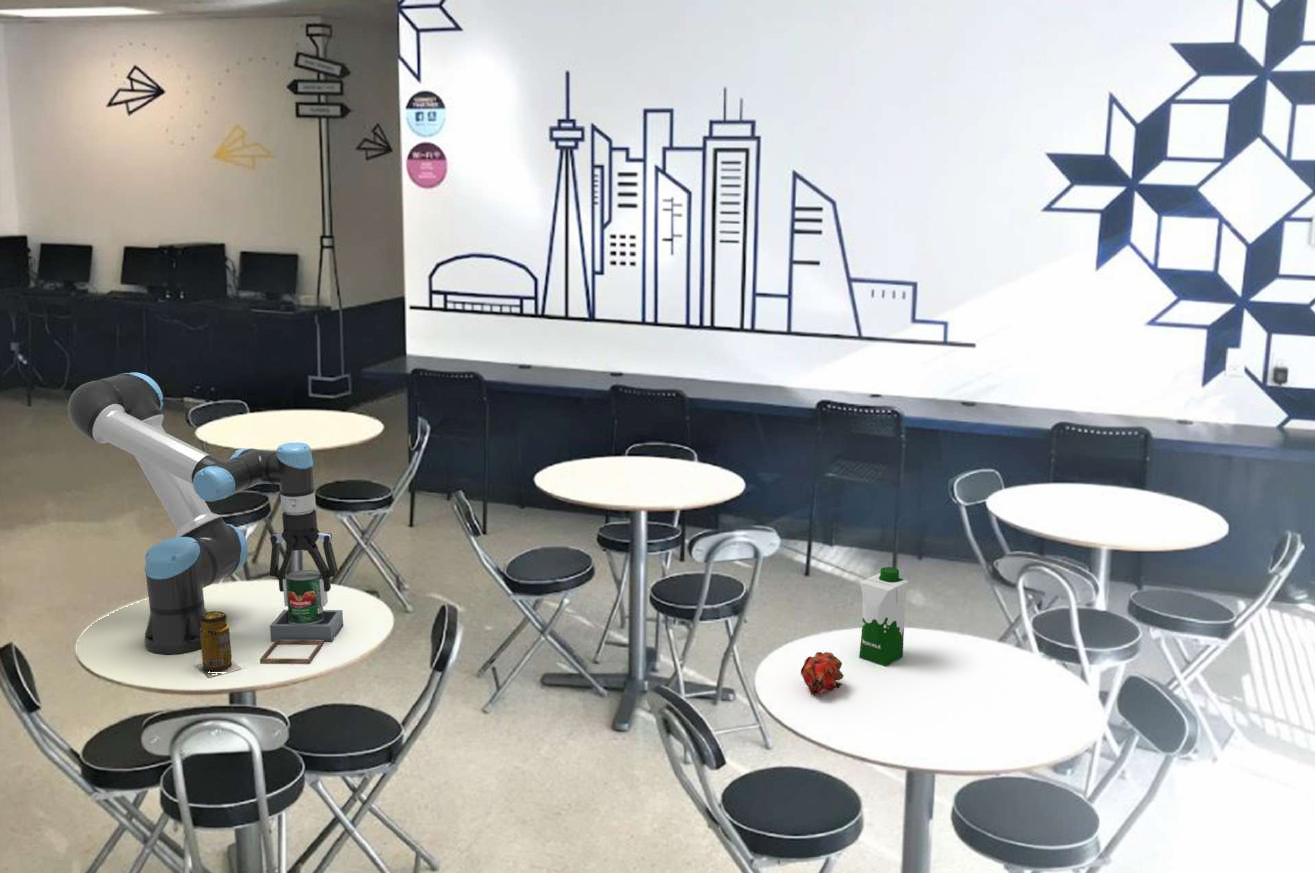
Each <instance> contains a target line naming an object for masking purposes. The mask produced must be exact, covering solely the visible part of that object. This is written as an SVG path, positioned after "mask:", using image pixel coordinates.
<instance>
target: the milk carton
mask: <svg viewBox="0 0 1315 873" xmlns="http://www.w3.org/2000/svg"><path fill="white" fill-rule="evenodd" d="M899 570H900V569H898V568H897V567H892V566H887V567H882V568H880V572H879V573H877V574H874V575H873V576H870V577H867V578H866V579H864V580H862V581H860V588H861V593H862V614H861V615H862V616H861V636H860V645H859V654H858V655H859V656H858V658H859V659H862V660H866V661H869V662H872V663H875V664H878V665H881V666H884V667H887V666H889V665H890V664H893V663H894V662H896V661H898V660H900V659H901V658H902V657H904V635H905V634H904V633H905V616H906V615H905V613H906V598H907V592H908V587H909V580H906V579H903V578H900V571H899Z"/></svg>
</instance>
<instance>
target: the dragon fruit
mask: <svg viewBox="0 0 1315 873" xmlns="http://www.w3.org/2000/svg"><path fill="white" fill-rule="evenodd" d="M842 665H843V662H842V661H841V660H840V659H838V657H837V656H835V655H834V654H833V653H832V652H829V651H826V652H821V651H820V652H819V651H817V652H816V653H815V654H814V656H808V657H807V658H806V659H805V660H804V663H803V665H802V667H801V670H800V676H802V679H803V681H804V683H805V685H806V686H807V687H808V689H809V692H810V693H811V694H812V695H813V696H816V694H818V695H819V694H826V693H827V691H828V692H833V691H834V690H836V689H837V690H838V689H840V688H841V686H842V685H843V682H840V681H841V680H843V679H844V677H845V676H844V674H843V672H842V671H841V668H842Z"/></svg>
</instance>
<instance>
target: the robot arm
mask: <svg viewBox="0 0 1315 873" xmlns="http://www.w3.org/2000/svg"><path fill="white" fill-rule="evenodd" d="M163 400H164V395H163V392H162V390H161V388H160V386H159V384H158V383H157V382H156V381H155V380H154V379H153V378H151V377H150V376H148V375H146V374H144V373H140V372H125V373H124V372H123V373H119V374H116V375H113V376H108V377H105V378H101V379H98V380H92V381H89V382H86V383H83V384H81V385H79V387H77V388H76V389H75V390H74V391H73V392H72V394H71V395H70V397H69V400H68V404H67V412H68V414H67V415H68V417H69V420H70V422H71V423H72V425H73V426H74V428H75V429H76V430H77V431H78V432H80V434H82V435H84V436H85V437H87V438H88V439H90V440H93V441H94V442H96V443H98V444H107V443H109V444H111V445H113V446H115V447H117V448H119V449H121V450H122V451H125V452H127V453H128V454H131V455H132V456H134V457H135V459H136V461H137V463H138V464H139V466H140V468H141V469H142V472H143V473H144V475H145V476H146V479H147V480H148V482H149V483H150V485H151V487H152V489H153V490H154V493H155V494H156V495H157V497H158V500H159V501H160V502H161V505H162V506H163V508H164V509H165V511H166V513H167V515H168V516H169V518H170V520H171V522H172V523H173V525H174V527H175V528H176V534H175V537H171V538H170V539H164V540H161V541H158V542H156V543H154V544H153V545H152V546H151V547H149V548H148V550H147V551H146V552H145V557H144V560H145V561H144V563H145V564H144V572H145V576H146V577H145V578H146V586H147V596H148V603H149V618H148V621H147V626H146V629H145V634H144V646H145V649H146V650H148V651H149V652H152V653H154V654H160V655H163V654H164V655H175V654H183V653H189V652H194V651H196V650H199V649H201V637H200V628H201V627H202V626H201V616H202V615H203V614H205V613H208V611H207V609H206V607H205V599H204V597H205V596H204V588H206V587H208V586H211V585H212V584H214V583H216V582H218V581H221V580H222V579H224V578H228V577H230V576H232V575H233V574H234V573H235V572H237V571H239V570H240V569H241V568H242V567H243V566H244V565H245V563H246V561H247V557H248V554H249V553H248V552H249V548H248V542H247V538H246V536H245V535H244V533H243V531H242V530H241V529H240V528H239V527H237V526H235V525H234V524H229V523H226V522H225V521H224V518H223V517H222V515H221V514H217V513H214V512H212V511H211V509H210V508H209V506H208V504H207V503H206V502H216V501H218V500H220V501H221V500H224V499H226V498H229V497H231V496H233V495H236V494H237V493H239V492H242V491H244V490H247V489H251V488H252V487H254V486H256V485H260V484H266V485H267V484H270V485H279V491H280V493H279V494H280V502H281V503H280V504H281V511H282V514H281V517H282V518H281V519H282V527H283V528H282V529H283V530H282V532H281V533H277V532H275V533H273V534H271V536H269V537H270V538H269V540H270V544H271V553H270V554H271V556H270V566H269V576H270V577H273V578H277V580H278V590H279V592H280V593H281V592H282V593H283V598H284V599H283V600H284V607H288V597H287V596H288V595H287V577H286V576H287V574H288V573H287V572H288V570H289V567H290V564H291V561H292V559H293V556H294V554H295V551H303V552H304V551H305V552H308V555H310V556H311V559H312V561H313V562H314V564H315V566H316V568H317V571H319V572H320V574H321V576H322V577H321V579H320V580H319V582H320V595H321V606H323V607H326V605H327V604H328V603H329V600H328V593H329V592H330V590H331V589H332V585H331V578H332V577H333V578H334V577H335V576H336V575H337V573H338V572H339V570H338V564H337V561H336V557H335V553H334V552H335V551H334V549H333V546H332V545H333V544H332V539H333V535H332V533H331V532H328V533H322V532H320V531H319V529H318V521H317V520H318V519H317V510H316V507H317V505H316V493H315V486H314V484H315V483H314V460H313V455H312V448H311V447H310V445H309V444H308V443H304V442H286V443H282V444H279V445H278V446H277V448H276V451H275V450H265V449H256V448H240V449H237V450H236V451H234V453H233V454H231V457H230V459H226V460H221V459H220V458H217V457H215V456H213V455H211V454H209V453H208V452H207V453H206V452H205V451H203V450H201V449H199V448H197V447H195V446H193V445H191V444H189V443H187V442H185V441H183V440H181V439H179V438H176V437H175V436H173V435H171V434H170V433H166V431H165V429H164V428H163V425H162V423H163V420H164V417H165V416H164V414H163V413H162V410H163V405H164V402H163ZM318 539H320V543H321V544H322V548H323V552H324V557H325V560H326V562H325V560H324V558H323V556H322V554H321V551H320V550H319V546H318V545H317V543H316V542H317V541H318ZM283 540H284V541H285V542H286V544H287V545H288V546H287V549H286V550H285V551H286V552H285V555H284V558H283V560H282V563H281V565H280V566H279V564H280V555H281V554H280V552H281V543H282V541H283ZM326 563H327V564H326ZM279 567H280V569H279Z"/></svg>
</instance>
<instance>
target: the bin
mask: <svg viewBox="0 0 1315 873" xmlns="http://www.w3.org/2000/svg"><path fill="white" fill-rule="evenodd" d="M323 617H324V619H323V620H322V621H321V622H318V623H315V624H311V625H293V624H290V623H289V621H288V620H289V617H288V609H283V610H282V611H281V612H280V613H279V615H278V616H277V617H276V618H275V619H274V620H273V622H272V623H271V624H270V625H269V632H270V634H269V635H270V642H271V643H274V642H275V640H324V642H332V643H333V641H334V640H335V638H336V637H337V636H336V635H338V634H339V633H340V632H341V629H343V627H344V618H343V617H344V616H343V609H323ZM334 637H335V638H334Z"/></svg>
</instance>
